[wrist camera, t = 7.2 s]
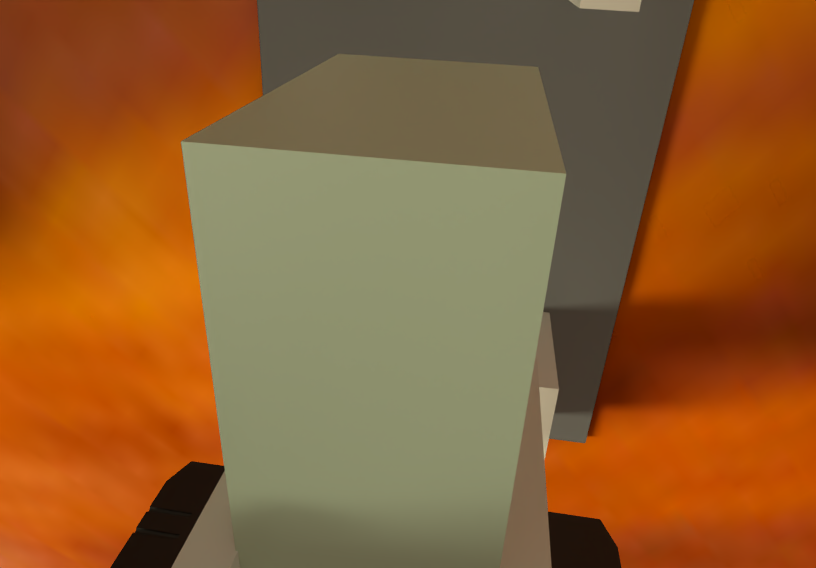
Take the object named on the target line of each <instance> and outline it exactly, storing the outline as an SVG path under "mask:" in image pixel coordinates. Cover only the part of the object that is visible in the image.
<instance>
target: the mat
mask: <svg viewBox="0 0 816 568" xmlns="http://www.w3.org/2000/svg"><path fill="white" fill-rule="evenodd" d="M693 3H694V0H641V5H640V10H639V12H631V11H615V10H599V9H583V8H578V7H577V6H576V5H574V4H573V3H572V2H570V1H569V0H257V6H258V22H259V38H260V54H261V70H262V86H263V96H264V95H265V94H267V93H269V92H271V91H273V90H274V89H276V88H278V87H280V86H282V85H283V84H285V83H287V82H289V81H291V80H292V79H294V78H296V77H298V76H300V75H301V74H303V73H305V72H307V71H309V70H310V69H312V68H314V67H316V66H318V65H319V64H321V63H323V62H325V61H327V60H328V59H330V58H332V57H334V56H336V55H337V54H350V55H365V56H381V57H396V58H411V59H426V60H441V61H456V62H472V63H487V64H502V65H517V66H532V67H538V68H539V72H540V76H541V80H542V83H543V87H544V91H545V95H546V99H547V102H548V106H549V110H550V114H551V118H552V121H553V125H554V129H555V133H556V137H557V140H558V144H559V148H560V152H561V155H562V159H563V163H564V167H565V171H566V179H565V185H564V191H563V196H562V202H561V208H560V214H559V220H558V226H557V232H556V238H555V244H554V250H553V256H552V262H551V268H550V273H549V279H548V285H547V291H546V297H545V303H544V309H543V312H549V313H550V321H551V329H552V337H553V345H554V353H555V361H556V369H557V377H558V385H559V392H558V397H557V401H556V406H555V411H554V416H553V421H552V426H551V430H550V435H549V438H550V439H558V440H565V441H573V442H581V443H585V442H586V438H587V434H588V430H589V426H590V422H591V418H592V414H593V410H594V406H595V402H596V397H597V393H598V389H599V385H600V381H601V377H602V373H603V369H604V365H605V361H606V357H607V353H608V349H609V345H610V341H611V336H612V332H613V328H614V324H615V320H616V316H617V312H618V308H619V304H620V300H621V296H622V292H623V288H624V284H625V280H626V276H627V271H628V267H629V263H630V259H631V255H632V251H633V247H634V243H635V239H636V235H637V231H638V227H639V223H640V219H641V215H642V211H643V206H644V202H645V198H646V194H647V190H648V186H649V182H650V178H651V174H652V170H653V166H654V162H655V158H656V154H657V150H658V145H659V141H660V137H661V133H662V129H663V125H664V121H665V117H666V113H667V109H668V105H669V101H670V97H671V93H672V89H673V85H674V80H675V76H676V72H677V68H678V64H679V60H680V56H681V52H682V48H683V44H684V40H685V36H686V32H687V28H688V24H689V20H690V15H691V11H692V7H693Z"/></svg>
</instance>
